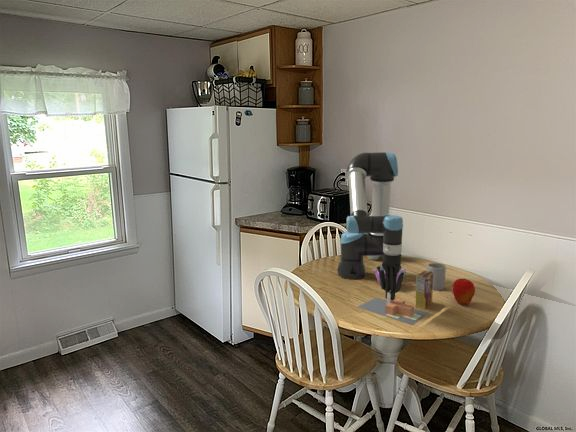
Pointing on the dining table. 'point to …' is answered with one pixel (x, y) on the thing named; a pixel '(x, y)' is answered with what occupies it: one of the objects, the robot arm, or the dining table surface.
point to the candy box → (424, 289)
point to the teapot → (385, 276)
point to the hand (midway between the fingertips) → (389, 306)
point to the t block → (399, 308)
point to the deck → (379, 308)
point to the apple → (463, 291)
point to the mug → (437, 275)
